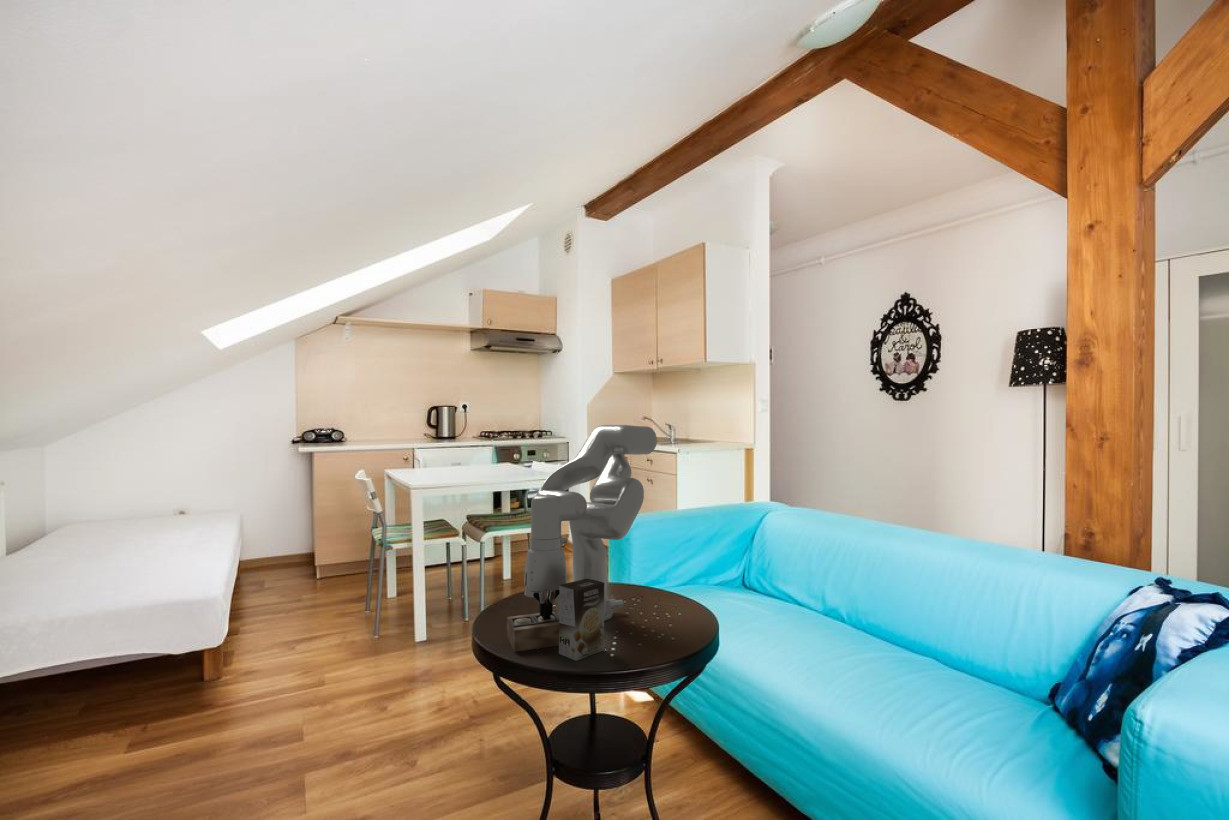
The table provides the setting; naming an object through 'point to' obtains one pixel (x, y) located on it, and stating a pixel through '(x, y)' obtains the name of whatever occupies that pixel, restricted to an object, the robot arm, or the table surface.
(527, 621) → the peg outer
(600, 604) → the cookie box
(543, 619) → the peg inner
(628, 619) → the table surface
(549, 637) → the press block
